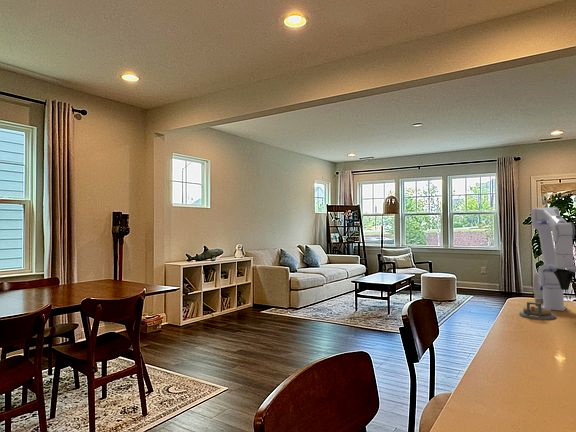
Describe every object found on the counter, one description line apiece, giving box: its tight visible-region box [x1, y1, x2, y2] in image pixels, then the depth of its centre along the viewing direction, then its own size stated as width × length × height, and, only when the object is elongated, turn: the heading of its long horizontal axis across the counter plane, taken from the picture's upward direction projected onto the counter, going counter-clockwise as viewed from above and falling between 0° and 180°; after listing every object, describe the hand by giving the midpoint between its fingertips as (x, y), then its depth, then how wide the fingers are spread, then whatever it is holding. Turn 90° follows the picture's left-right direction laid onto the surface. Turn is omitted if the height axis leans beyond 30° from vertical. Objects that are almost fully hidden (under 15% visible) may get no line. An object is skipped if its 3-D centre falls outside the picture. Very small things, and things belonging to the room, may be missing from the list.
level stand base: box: [518, 301, 557, 321], centre depth 158 cm, size 12×12×6 cm
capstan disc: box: [522, 298, 552, 315], centre depth 158 cm, size 9×9×5 cm
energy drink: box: [533, 273, 543, 303], centre depth 188 cm, size 5×5×12 cm
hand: (564, 289), depth 156 cm, fingers closed
